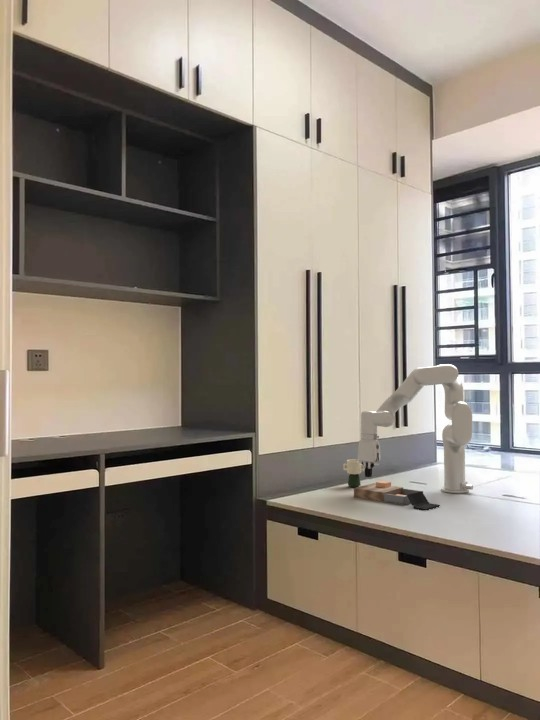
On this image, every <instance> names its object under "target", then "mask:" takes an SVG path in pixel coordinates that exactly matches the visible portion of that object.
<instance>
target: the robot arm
mask: <svg viewBox="0 0 540 720" xmlns="http://www.w3.org/2000/svg"><path fill="white" fill-rule="evenodd" d="M436 385H442V387H443V390H444V415H445V417H446V418H447V419H448V420H449V421H451V423H448V424H447V425H445V426H444V428H443V430H442V431H441V432H442V433H441V437H442V444H443V481H444V484H443V486H442V487H440V491H441V492H444V493H449V494H450V493H451V494H466V493H468V492H469V491H470V490H473V489H474V486H473V484H469V483H468V481H466V451H465V446H467V445H469V444H470V443H471V442H472V438H473V412H472V408H471V406H470V405H469V404H468V403H466V402H464V401H465V399H464V398H465V397H464V386H463V383H462V381H461V379H460V378H459V370H458V368H457V367H456V366H455V365H453V364H449V363H446V364H445V363H444V364H438V365H434V366H427V367H426V366H425V367H424V366H422V367H415V368H414V369H413V370H412V371H411V372H410V373H409V374H408V376H407V377H406V378H405V379H404V380H403V382H402V383H401V384H400V385H399V386H398V387H397V389H396V390H395V391H394V392H393V393H391V395H390V396H388V398H387V399H386V400H384V401H383V403H382V404H381V405H380V406H379V408H378V409H377V410H376V411H375V410H363V411H362V412H361V413H360V439H359V442H358V448H357V449H358V450H357V460H359V461H358V462H359V463H361V464H362V465H363V466H364V468H365V471H364V477H365V478H371V477H372V476H373V468H375V466H379V465H380V461H381V446H380V441H379V440H378V439H380V436H379V435H378V427H383V428H390V427H392V426H393V425H394V424H395V423H396V417H395V414H396V412H397V411H399V410H400V409H401V408H402V407H404V406H406V405H408V404H410V403H411V402H412V401H413V399H415V398H416V396H417V395H418V394H419V392H421V390H422V389H423V388H424V386H436ZM363 466H362V467H363Z"/></svg>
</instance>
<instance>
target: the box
mask: <svg viewBox="0 0 540 720" xmlns="http://www.w3.org/2000/svg"><path fill="white" fill-rule="evenodd" d="M421 491H422V492H423V493H424V491H423V490H417V489H410V488H409V489H408V488H404V487H403V489H402V492H403V495H406V496H398V495H392V494H384V502H383V503H388V502H390V504H395V503H396V505H401V504H402V506H406V505H408V503H409V504H411V502H410V500H409V499H408V497H407V495H409V494H413V493H417V492H421Z"/></svg>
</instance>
